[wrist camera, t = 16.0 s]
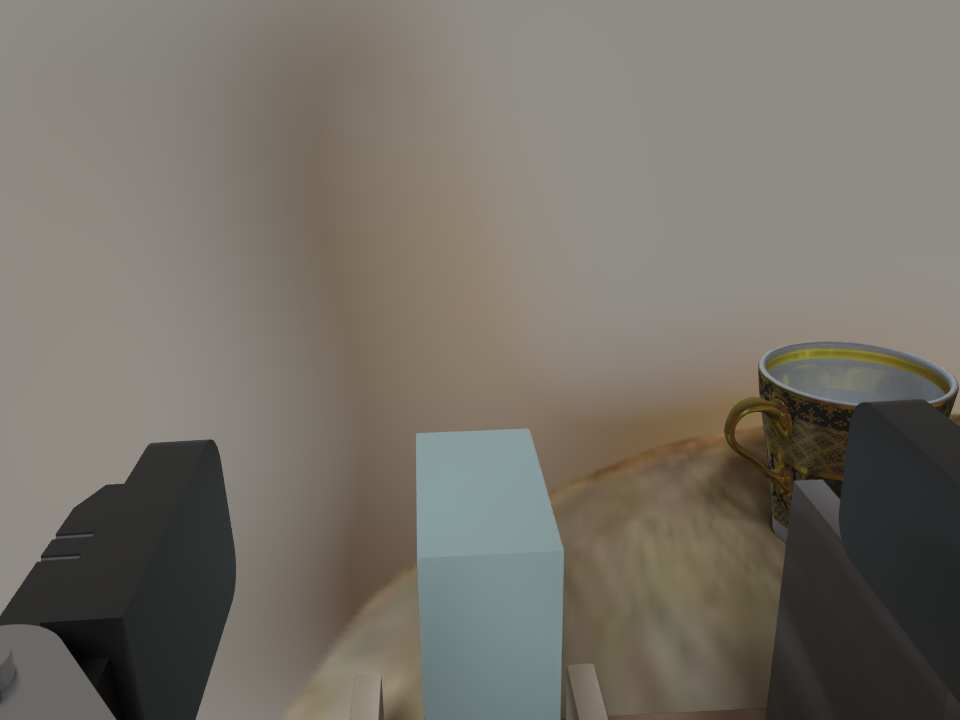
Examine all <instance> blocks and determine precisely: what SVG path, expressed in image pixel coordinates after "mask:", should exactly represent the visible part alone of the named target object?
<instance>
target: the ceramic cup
mask: <svg viewBox="0 0 960 720" xmlns="http://www.w3.org/2000/svg"><path fill="white" fill-rule="evenodd" d="M758 372H759V393H760V398H756V397H750V398H747V399H744V400H742V401H740V402H739V403H737V404H736V405H735V406H734V407H733V408H732V410H731V411H730V413H729V415H728V417H727V420H726V424H725V429H724V433H725V437H726V440H727V442H728V444H729V445H730V447H731V448H732V449H733V450H735V451H736V452H737V453H738V454H740V455H741V456H743V457H745V458H746V459H748V460H750V461H751V462H752V463H754V464H755V465H756V466H757V467H758V469H759V470H760V471H761V472H762V473H763V474H764V475H766V476H767V477H769V478H770V489H771V505H772V520H773V530H774V532H775V535H777V536H778V537H779V538H781V539H782V540H783V541H785V542H786V543H787V534H788V526H789V517H790V509H791V501H792V492H793V484H794V481H799V480H823V481H824V482H825V483H826V484H827V485H828V486H829V488H830V489H831V490H832V491H833V492H834V493H835V495H836V496H837V497H838V498H839V499H840V498H841V490H842V482H843V474H844V466H845V458H846V450H847V442H848V434H849V425H850V420H851V416H852V413H853V411H854V409H855V408H856V406H857V405H858V404H860V403H862V402H876V401H892V400H909V399H923V400H925V401H927V402H928V403H930V404H931V405H932V406H933V407H935V408H936V409H937V410H939V411H940V412H941V413H942V414H944V415H945V416H946V417H947V418H949V416H950V414H951V411H952V408H953V405H954V402H955V399H956V396H957V393H958V390H959V386H958V382H957V380H956V379H955V377H954V376H953V375H952V374H951V373H950V372H949V371H948V370H946V369H944V368H943V367H941V366H940V365H938V364H936V363H934V362H932V361H930V360H927V359H925V358H923V357H920V356H917V355H914V354H911V353H908V352H904V351H900V350H896V349H892V348H887V347H883V346H877V345H870V344H863V343H854V342H841V341H838V342H837V341H814V342H803V343H795V344H790V345H785V346H781V347H778V348H775V349H773V350H771V351H769V352H767V353H766V354H764V355H763V356H762V358H761V359H760V361H759V364H758ZM752 412H762V419H763V428H764V435H765V441H766V446H767V456H768V467H769V469H768V468H767V466H766V465H765V464H764V463H763V462H762V460H761V459H759V458H758V457H757V456H755V455H754V454H753V453H751V452H749V451H748V450H746V449H745V448H743V447H742V446H740V445H739V444H738V443H737V442H736V440H735V436H734V431H735V427H736V425H737V423H738V422H739V420H740V419H741V418H742V417H744V416H745V415H746V414H749V413H752Z"/></svg>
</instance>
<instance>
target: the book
mask: <svg viewBox="0 0 960 720" xmlns="http://www.w3.org/2000/svg"><path fill="white" fill-rule="evenodd" d="M416 473H417V474H416V475H417V565H418V588H419V611H420V635H421V658H422V681H423V704H424V720H560V714H561V667H562V620H563V573H564V549H563V546H562V542H561V539H560V535H559V532H558V528H557V525H556V521H555V518H554V514H553V511H552V507H551V504H550V500H549V497H548V493H547V490H546V486H545V483H544V479H543V476H542V472H541V469H540V465H539V462H538V458H537V455H536V451H535V447H534V444H533V440H532V437H531V433H530V430H529V429H511V430H490V431H489V430H488V431H462V432H440V433H439V432H438V433H417V434H416Z"/></svg>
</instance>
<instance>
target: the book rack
mask: <svg viewBox="0 0 960 720" xmlns="http://www.w3.org/2000/svg"><path fill="white" fill-rule="evenodd" d="M839 506H840V499H839V498H838V497H837V496H836V495H835V493H834V492H833V491H832V490H831V489H830V488H829V486H828V485H827V484H826V483H825V482H824V481H823V480H799V481H794V484H793V492H792V501H791V509H790V517H789V526H788V534H787V543H786V551H785V560H784V568H783V576H782V585H781V593H780V602H779V610H778V619H777V627H776V636H775V644H774V652H773V661H772V669H771V678H770V686H769V695H768V703H767V708H759V709H740V710H721V711H702V712H683V713H664V714H645V715H626V716H607V714H606V710H605V706H604V702H603V699H602V695H601V691H600V687H599V683H598V680H597V676H596V672H595V668H594V665H593V663H591V664H571V665H567V685H566V719H560V720H960V704H959V702H958V701H957V700H956V698H955V697H954V696H953V695H952V693H951V692H950V691H949V689H948V688H947V687H946V685H945V684H944V683H943V681H942V680H941V679H940V678H939V676H938V675H937V674H936V672H935V671H934V670H933V668H932V667H931V666H930V664H929V663H928V662H927V661H926V659H925V658H924V657H923V655H922V654H921V653H920V651H919V650H918V649H917V647H916V646H915V645H914V644H913V642H912V641H911V640H910V638H909V637H908V636H907V634H906V633H905V632H904V630H903V629H902V628H901V627H900V625H899V624H898V623H897V621H896V620H895V619H894V617H893V616H892V615H891V613H890V612H889V611H888V610H887V608H886V607H885V606H884V604H883V603H882V602H881V600H880V599H879V598H878V596H877V595H876V594H875V593H874V591H873V590H872V589H871V587H870V586H869V585H868V583H867V582H866V581H865V579H864V578H863V577H862V576H861V574H860V573H859V572H858V570H857V569H856V568H855V566H854V565H853V564H852V562H851V561H850V559H849V558H848V556H847V554H846V552H845V549H844V546H843V543H842V539H841V535H840V529H839ZM350 720H384V710H383V694H382V678H381V674H369V675H354V684H353V694H352V703H351V713H350Z"/></svg>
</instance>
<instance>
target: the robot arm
mask: <svg viewBox="0 0 960 720" xmlns="http://www.w3.org/2000/svg"><path fill="white" fill-rule="evenodd" d="M839 529H840V535H841V539H842V543H843V546H844V549H845V552H846V554H847V556H848V558H849V559H850V561H851V562H852V564H853V565H854V566H855V568H856V569H857V570H858V572H859V573H860V574H861V576H862V577H863V578H864V579H865V581H866V582H867V583H868V585H869V586H870V587H871V589H872V590H873V591H874V593H875V594H876V595H877V596H878V598H879V599H880V600H881V602H882V603H883V604H884V606H885V607H886V608H887V610H888V611H889V612H890V613H891V615H892V616H893V617H894V619H895V620H896V621H897V623H898V624H899V625H900V627H901V628H902V629H903V630H904V632H905V633H906V634H907V636H908V637H909V638H910V640H911V641H912V642H913V644H914V645H915V646H916V647H917V649H918V650H919V651H920V653H921V654H922V655H923V657H924V658H925V659H926V661H927V662H928V663H929V664H930V666H931V667H932V668H933V670H934V671H935V672H936V674H937V675H938V676H939V678H940V679H941V680H942V681H943V683H944V684H945V685H946V687H947V688H948V689H949V691H950V692H951V693H952V695H953V696H954V697H955V698H956V700H957V701H958V702H959V704H960V427H959V426H957V425H956V424H955V423H954V422H952V421H951V420H950V419H949V418H947V417H946V416H945V415H944V414H942V413H941V412H940V411H939V410H937V409H936V408H935V407H933V406H932V405H931V404H930V403H928V402H927V401H925V400H923V399H909V400H892V401H876V402H862V403H860V404H858V405H857V406H856V408H855V409H854V411H853V413H852V416H851V420H850V425H849V434H848V442H847V450H846V458H845V466H844V474H843V482H842V490H841V498H840V506H839ZM235 581H236V558H235V548H234V541H233V535H232V529H231V522H230V516H229V510H228V504H227V497H226V491H225V485H224V478H223V472H222V466H221V460H220V455H219V451H218V448H217V446H216V444H215V442H214V441H213V440H195V441H178V442H164V443H163V442H161V443H151V444H149V445H148V446H147V448H146V449H145V451H144V453H143V454H142V456H141V457H140V459H139V461H138V462H137V464H136V466H135V468H134V469H133V471H132V472H131V474H130V476H129V477H128V479H127V480H126V482H125V484H114V485H105V486H104V487H103V488H101V489H100V490H98V491H97V492H96V493H95V494H93V495H92V496H90V497H89V498H87V499H86V500H84V501H83V502H82V503H80V504H79V505H77V506H76V507H75V508H73V510H72V511H71V513H70V514H69V516H68V517H67V519H66V520H65V522H64V523H63V525H62V526H61V527H60V529H59V530H58V532H57V533H56V539H54V540H52V541H51V542H50V544H49V545H48V547H47V548H46V549H45V551H44V552H43V554H42V555H41V562H37V563H36V564H35V566H34V567H33V569H32V570H31V571H30V573H29V574H28V576H27V577H26V579H25V581H24V582H23V583H22V585H21V586H20V588H19V589H18V591H17V592H16V593H15V595H14V596H13V598H12V599H11V601H10V602H9V604H8V605H7V607H6V608H5V610H4V611H3V613H2V614H1V616H0V720H195V719H196V716H197V713H198V710H199V706H200V703H201V700H202V697H203V693H204V690H205V687H206V684H207V681H208V678H209V674H210V671H211V668H212V665H213V662H214V658H215V655H216V652H217V649H218V646H219V642H220V639H221V636H222V633H223V630H224V626H225V623H226V620H227V617H228V613H229V610H230V607H231V604H232V601H233V596H234V591H235Z"/></svg>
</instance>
